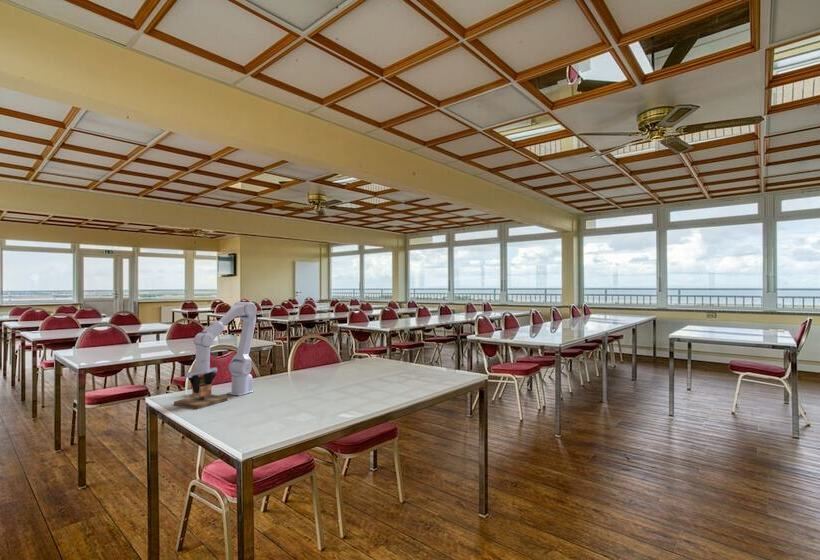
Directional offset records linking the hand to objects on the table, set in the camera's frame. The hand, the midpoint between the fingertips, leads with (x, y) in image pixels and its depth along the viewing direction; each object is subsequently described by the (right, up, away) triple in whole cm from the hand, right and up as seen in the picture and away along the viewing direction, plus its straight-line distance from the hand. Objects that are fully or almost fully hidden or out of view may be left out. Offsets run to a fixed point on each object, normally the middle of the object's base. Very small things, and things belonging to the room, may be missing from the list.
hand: (201, 391), depth 187 cm
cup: (-6, -5, +16) cm, 18 cm away
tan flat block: (0, -5, 0) cm, 5 cm away
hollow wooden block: (0, -1, 0) cm, 1 cm away
